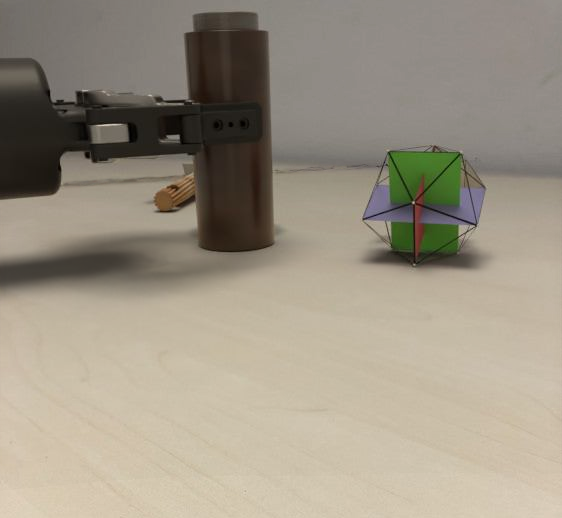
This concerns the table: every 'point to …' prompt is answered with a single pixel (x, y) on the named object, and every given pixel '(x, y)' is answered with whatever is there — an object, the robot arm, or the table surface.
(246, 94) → the pepper mill
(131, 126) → the robot arm
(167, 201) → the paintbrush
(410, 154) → the geometric puzzle
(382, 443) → the table surface
